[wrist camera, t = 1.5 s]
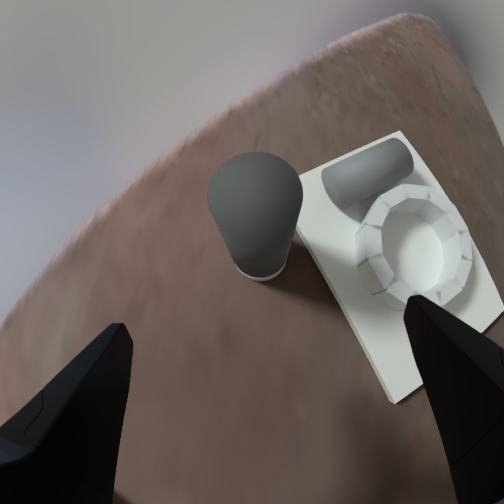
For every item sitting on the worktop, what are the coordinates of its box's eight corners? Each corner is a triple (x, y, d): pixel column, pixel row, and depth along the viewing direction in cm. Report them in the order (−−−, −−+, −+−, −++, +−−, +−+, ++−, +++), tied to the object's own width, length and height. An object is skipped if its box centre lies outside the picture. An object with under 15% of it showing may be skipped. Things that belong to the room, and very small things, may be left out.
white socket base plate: (497, 310, 19) (528, 304, 15) (389, 401, 18) (413, 414, 14) (395, 136, 23) (412, 109, 19) (274, 193, 22) (275, 166, 18)
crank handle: (296, 265, 21) (321, 210, 11) (249, 290, 21) (234, 256, 11) (270, 220, 22) (273, 139, 12) (224, 244, 22) (192, 177, 12)
